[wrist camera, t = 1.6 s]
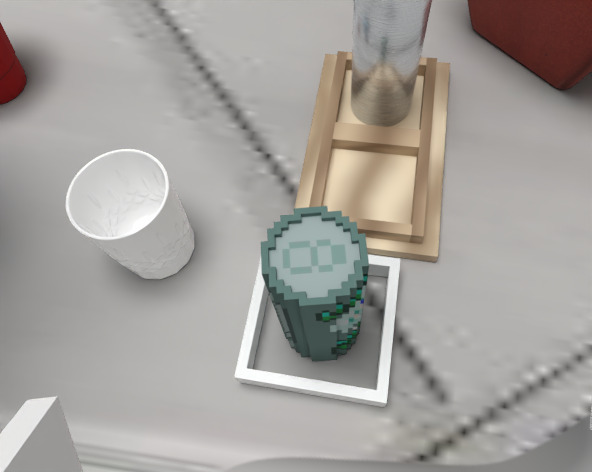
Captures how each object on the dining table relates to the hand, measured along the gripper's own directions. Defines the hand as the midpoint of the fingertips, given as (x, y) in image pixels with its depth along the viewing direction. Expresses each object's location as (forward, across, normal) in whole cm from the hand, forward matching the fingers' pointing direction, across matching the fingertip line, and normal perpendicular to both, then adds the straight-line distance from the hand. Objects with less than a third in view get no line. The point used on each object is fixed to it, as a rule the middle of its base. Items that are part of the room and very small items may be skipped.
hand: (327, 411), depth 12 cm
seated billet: (+41, +8, +4) cm, 42 cm away
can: (+27, 0, -13) cm, 30 cm away
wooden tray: (+39, +7, -1) cm, 39 cm away
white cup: (+34, -14, -6) cm, 37 cm away
